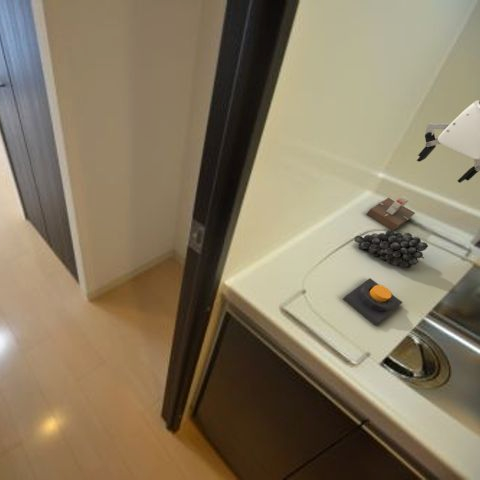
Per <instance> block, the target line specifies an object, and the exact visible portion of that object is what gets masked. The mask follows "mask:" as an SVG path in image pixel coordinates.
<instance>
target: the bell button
mask: <svg viewBox="0 0 480 480" xmlns="http://www.w3.org/2000/svg"><path fill="white" fill-rule="evenodd" d="M369 293H370V295H371V297H372V298H373V299H375V300H376V301H379V302H386V301H387V300H388V299H389V298H390V297H391V296H392V295H393V293H392V292H391V290H390V289H389V288H388V287H386V286H384V285H381V284H379V285H376V286H374V287H373V288H372V289H371V290H370V292H369ZM391 293H392V294H391Z"/></svg>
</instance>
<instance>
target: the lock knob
mask: <svg viewBox="0 0 480 480" xmlns="http://www.w3.org/2000/svg"><path fill="white" fill-rule="evenodd" d="M394 201H395V202H394V203H393V204H392V205H391V206H390V208H389V209H388V210H387V211H386V212H388V213H389V214H391V215H393V214H395V213H396V212H398V211H399V210H400V209H401V208H402V207H403V206H404V207H405V205H406V204H407V203H408V202H409V201H410V199H409V198H407V197H405V196H400V198H397V199H396V200H394Z"/></svg>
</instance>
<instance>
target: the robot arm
mask: <svg viewBox="0 0 480 480" xmlns="http://www.w3.org/2000/svg"><path fill="white" fill-rule="evenodd" d="M435 130H443V131H441V133H439V135H438V137H437V138H436V135H435ZM424 138H425V142H426V143H425V145H424V148H423V149H422V150H421V151H420V152H419V153H418V154H417V156H418V158H417V159H416V161H417V163H419V162H422V161H424V160H426V158H427V157H428V156H429V155H431V153H432V152H433V151H434V150H435V149H436V146H437V145H442V146H444V147H446V148H448V149H450V150H453V151H455V152H457V153H459V154H462V156H463V155H464V156H466V157H467V158H470V159H472V160H473V162H474V165H473V166H472V167H470V168H469V169H467V171H466V172H465V173H464V174H463V175H461V177H459V178H458V179H457V182H458V183H462V182H464V181H467V182H469V180H471V179H472V178H473V177H474V176H475V175H476V174H477V173H479V172H480V99H479V100H477V99H476V100H475V101H474V102H472V103H471V104H470V105H469V106H467V107H466V108H465V109H464V110H463V111H462V112H461V113H460V114H459V115H457V117H455V119H453V120H452V121H451V122H431V123H428V124H427V125H426V129H425V134H424Z"/></svg>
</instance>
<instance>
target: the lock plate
mask: <svg viewBox="0 0 480 480" xmlns="http://www.w3.org/2000/svg"><path fill="white" fill-rule="evenodd" d="M395 201H396V200H393V199H391V198H390V197H387V198H384V200H382V201H378V202H377V204H376V205H375V206H373V207H371V208H370V209H369V210H368V211H367V213H366V214H365V215H366V216H367V217H368V218H370V219H372V220H374V221H375V222H377V223H379V224H380V225H382V226H383V227H385V228H387V230H392V231H395V230H396V229H398V228H399V227H400V226H402V225H404V224H405V223H406V222H407V221H409V220H411V218H412V217H413V216H414V215H415V214H416V212H415V211H413V210H412V209H409V208H408V207H406V206H405V205H404V206H403V207H402V208H401V209H400V210H399V211H398V212H396V213H395V214H393V215H391V214H389V213H388V212H386V211H387V210H388V209H389V208H390V206H391V205H392V204H393V203H394V202H395Z"/></svg>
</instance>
